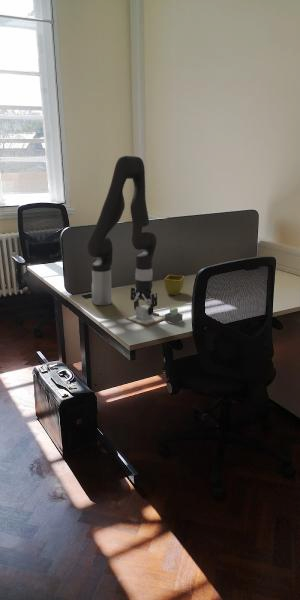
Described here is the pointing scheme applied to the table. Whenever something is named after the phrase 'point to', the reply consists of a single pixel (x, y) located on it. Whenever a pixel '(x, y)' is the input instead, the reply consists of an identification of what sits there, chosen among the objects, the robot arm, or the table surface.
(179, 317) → the button housing
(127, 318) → the picture frame
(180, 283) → the flower pot
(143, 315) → the small box
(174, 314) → the button
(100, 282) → the robot arm
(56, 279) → the table surface
